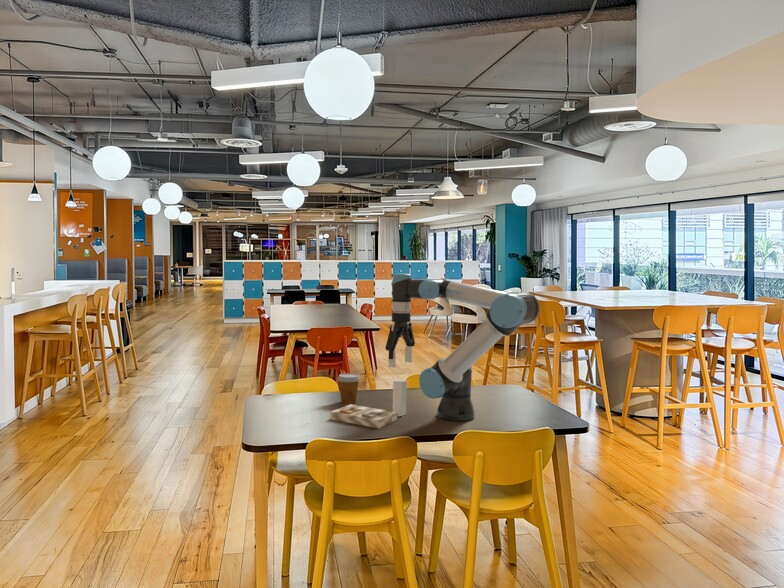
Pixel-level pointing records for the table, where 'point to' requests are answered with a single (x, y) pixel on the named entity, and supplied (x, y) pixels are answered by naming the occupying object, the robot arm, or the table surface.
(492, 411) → the table surface
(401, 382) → the plug
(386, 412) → the socket plate
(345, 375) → the disposable coffee cup
